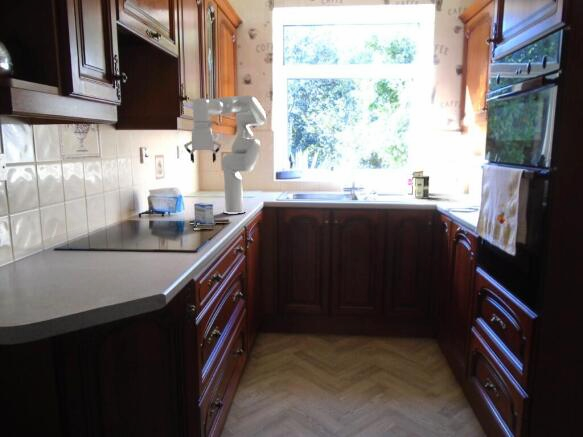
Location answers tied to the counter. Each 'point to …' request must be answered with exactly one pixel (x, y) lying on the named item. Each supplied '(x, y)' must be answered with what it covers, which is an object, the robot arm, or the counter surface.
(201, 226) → the grey shallow tray
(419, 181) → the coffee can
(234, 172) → the robot arm
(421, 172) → the candy bar box
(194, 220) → the door-edge strip
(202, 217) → the medicine box
